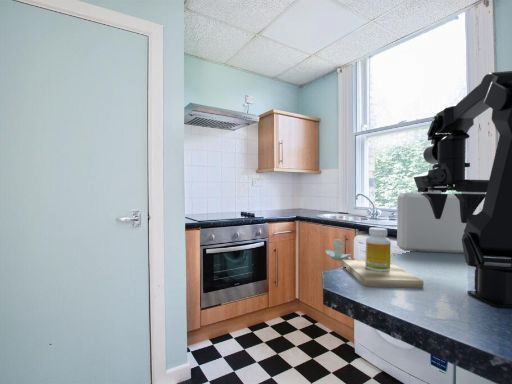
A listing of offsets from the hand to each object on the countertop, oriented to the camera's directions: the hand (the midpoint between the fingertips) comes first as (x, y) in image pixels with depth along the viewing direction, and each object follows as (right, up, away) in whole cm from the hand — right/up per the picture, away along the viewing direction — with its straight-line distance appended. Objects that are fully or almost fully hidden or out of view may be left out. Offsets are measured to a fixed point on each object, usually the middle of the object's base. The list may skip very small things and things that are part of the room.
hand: (450, 220), depth 67 cm
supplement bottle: (-20, -11, -4) cm, 24 cm away
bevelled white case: (+12, -14, +26) cm, 32 cm away
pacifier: (-25, -13, +11) cm, 30 cm away
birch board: (-20, -13, -4) cm, 24 cm away
